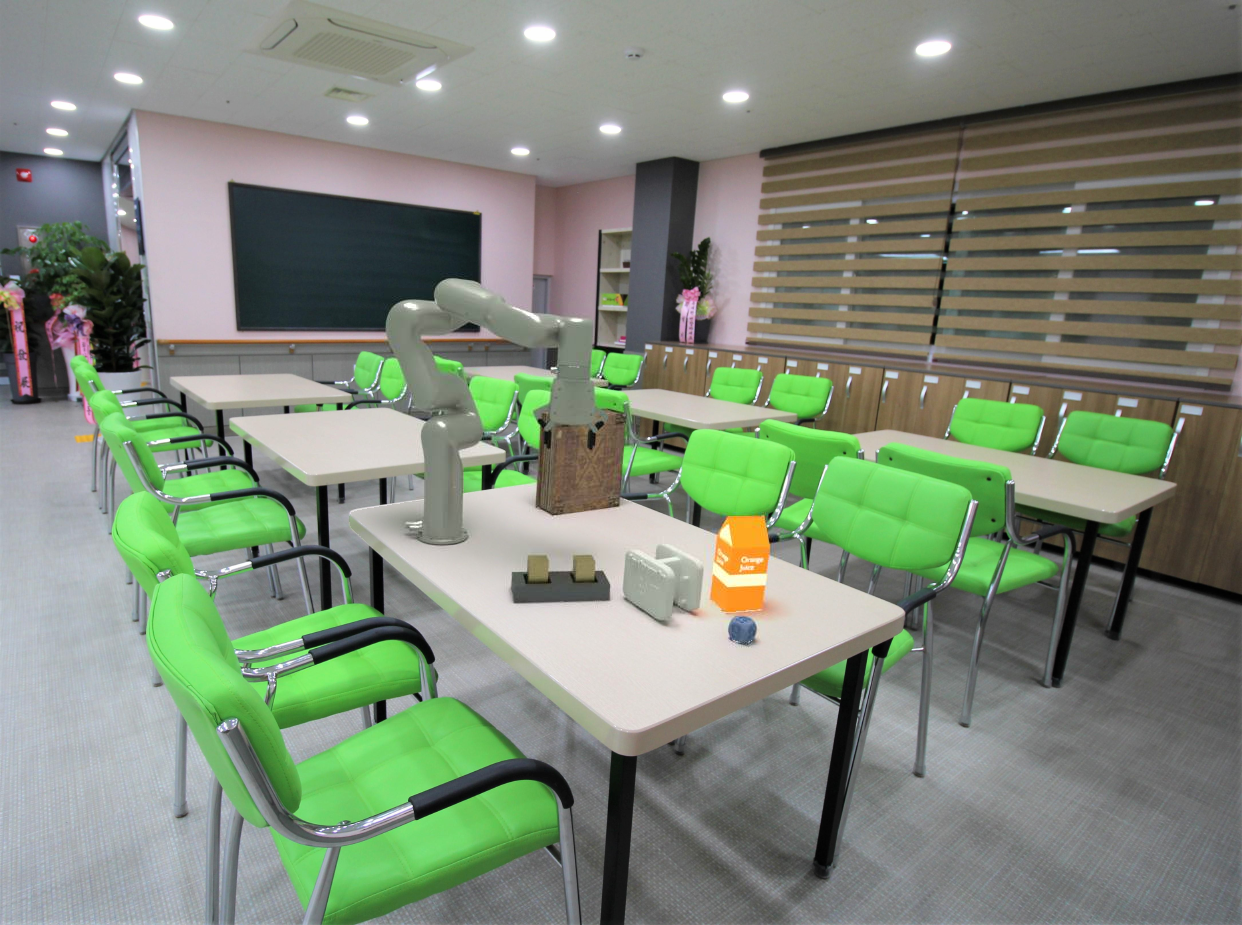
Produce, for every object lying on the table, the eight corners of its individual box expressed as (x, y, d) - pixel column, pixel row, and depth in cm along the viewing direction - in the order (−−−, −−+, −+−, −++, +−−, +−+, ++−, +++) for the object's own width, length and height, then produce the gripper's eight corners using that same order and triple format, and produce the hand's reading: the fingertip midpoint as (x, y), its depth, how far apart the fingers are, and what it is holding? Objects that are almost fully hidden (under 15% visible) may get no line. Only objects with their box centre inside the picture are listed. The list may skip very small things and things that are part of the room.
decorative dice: (755, 639, 130) (758, 620, 129) (744, 646, 127) (746, 626, 126) (738, 632, 132) (740, 613, 132) (726, 638, 130) (728, 619, 129)
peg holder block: (513, 602, 138) (515, 565, 136) (511, 587, 145) (512, 552, 144) (609, 600, 143) (612, 564, 141) (601, 585, 150) (604, 551, 148)
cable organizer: (702, 617, 138) (708, 563, 136) (661, 627, 132) (667, 571, 130) (658, 590, 150) (662, 540, 148) (618, 598, 144) (623, 546, 142)
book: (551, 516, 198) (556, 415, 191) (535, 507, 205) (540, 410, 199) (619, 506, 213) (626, 412, 207) (602, 499, 220) (609, 408, 214)
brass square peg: (574, 597, 143) (576, 561, 141) (571, 589, 146) (573, 555, 145) (592, 596, 144) (595, 561, 142) (589, 589, 147) (591, 554, 146)
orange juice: (762, 611, 143) (774, 521, 139) (724, 614, 140) (735, 522, 136) (745, 596, 150) (756, 510, 146) (709, 598, 148) (718, 510, 143)
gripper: (536, 373, 145) (533, 450, 149) (614, 377, 150) (609, 452, 153) (533, 369, 153) (529, 443, 156) (607, 374, 157) (602, 446, 160)
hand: (569, 448), depth 155 cm, fingers open, 9 cm apart
